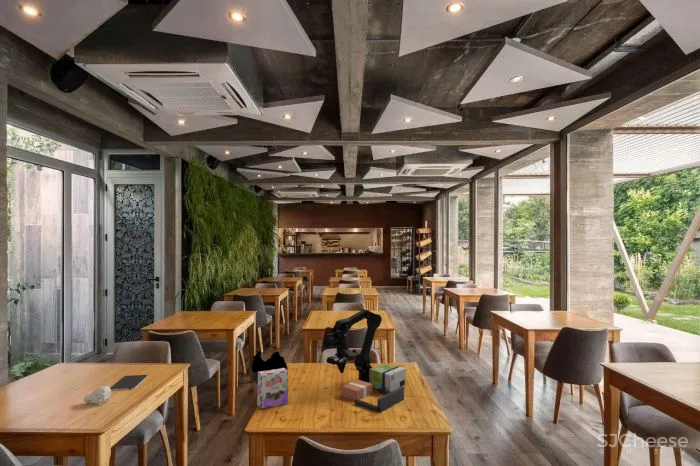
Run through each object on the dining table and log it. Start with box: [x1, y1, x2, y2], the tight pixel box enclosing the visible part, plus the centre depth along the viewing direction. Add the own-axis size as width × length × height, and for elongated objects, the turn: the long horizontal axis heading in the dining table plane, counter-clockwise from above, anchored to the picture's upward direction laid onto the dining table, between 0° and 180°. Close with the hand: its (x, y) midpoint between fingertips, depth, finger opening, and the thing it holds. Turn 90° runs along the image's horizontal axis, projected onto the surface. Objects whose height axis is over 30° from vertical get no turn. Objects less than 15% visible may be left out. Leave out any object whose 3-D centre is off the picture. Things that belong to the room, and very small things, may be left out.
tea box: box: [369, 362, 407, 392], centre depth 218 cm, size 15×10×15 cm
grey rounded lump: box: [83, 385, 112, 407], centre depth 194 cm, size 6×8×12 cm
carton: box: [341, 379, 374, 401], centre depth 206 cm, size 10×13×5 cm
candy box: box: [256, 368, 289, 410], centre depth 193 cm, size 14×6×16 cm, turn 117°
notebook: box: [110, 374, 148, 392], centre depth 222 cm, size 13×2×21 cm
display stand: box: [353, 386, 405, 414], centre depth 197 cm, size 16×21×6 cm
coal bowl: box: [250, 350, 289, 386], centre depth 217 cm, size 20×20×19 cm
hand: (341, 373), depth 214 cm, fingers closed
